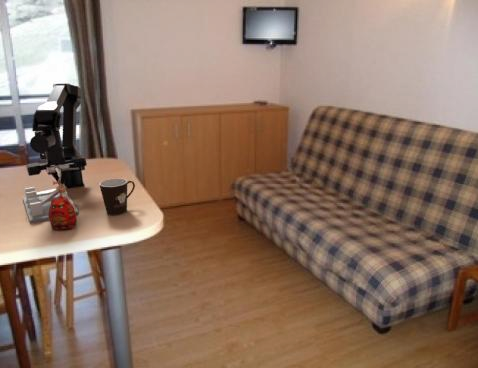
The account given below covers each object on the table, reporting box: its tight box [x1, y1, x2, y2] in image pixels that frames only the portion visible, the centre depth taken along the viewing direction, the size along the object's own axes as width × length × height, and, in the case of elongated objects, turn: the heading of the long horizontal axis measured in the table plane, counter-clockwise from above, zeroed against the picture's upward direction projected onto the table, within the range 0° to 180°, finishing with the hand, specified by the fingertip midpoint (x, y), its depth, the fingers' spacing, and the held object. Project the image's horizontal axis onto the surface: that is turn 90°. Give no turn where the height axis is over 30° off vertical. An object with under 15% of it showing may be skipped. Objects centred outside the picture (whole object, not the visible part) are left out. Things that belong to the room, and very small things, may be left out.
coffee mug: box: [99, 177, 136, 216], centre depth 131 cm, size 12×9×10 cm
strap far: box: [36, 188, 67, 197], centre depth 141 cm, size 11×4×1 cm, turn 122°
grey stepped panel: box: [22, 186, 79, 224], centre depth 136 cm, size 14×24×5 cm, turn 32°
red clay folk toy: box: [48, 176, 78, 231], centre depth 119 cm, size 8×7×15 cm
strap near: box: [39, 184, 67, 206], centre depth 130 cm, size 11×4×1 cm
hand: (61, 188), depth 143 cm, fingers closed
